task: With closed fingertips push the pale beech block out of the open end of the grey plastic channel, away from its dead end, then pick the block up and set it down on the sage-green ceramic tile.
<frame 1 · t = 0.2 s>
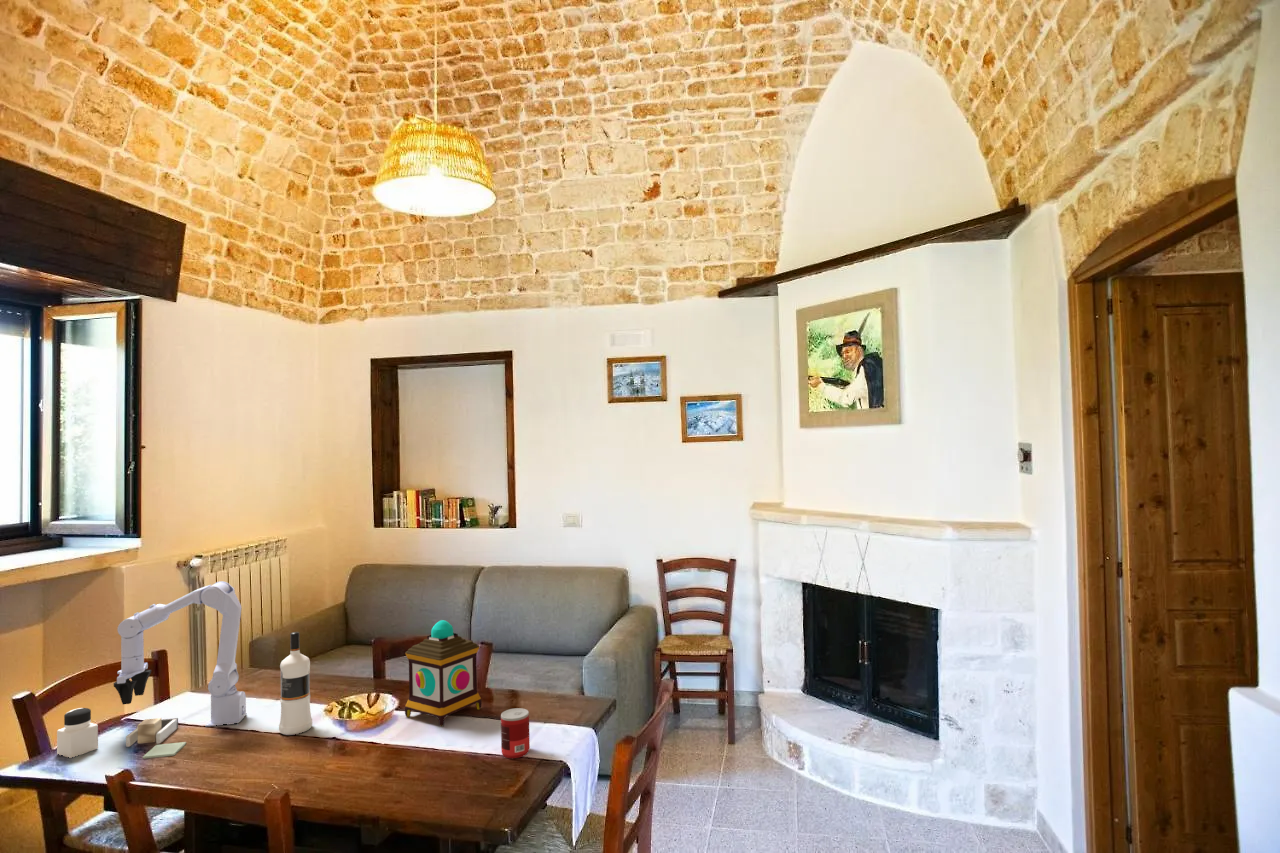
hand: (133, 699, 218), 10 cm above the table, tool pointing down, fingers open, 7 cm apart
channel: (152, 737, 212), on the table
decorative lantern: (443, 713, 227), on the table
tile: (165, 751, 202), on the table
vodka: (295, 730, 216), on the table
beech block: (149, 739, 211), on the table
canned food: (515, 753, 196), on the table
medicine bottle: (77, 752, 204), on the table
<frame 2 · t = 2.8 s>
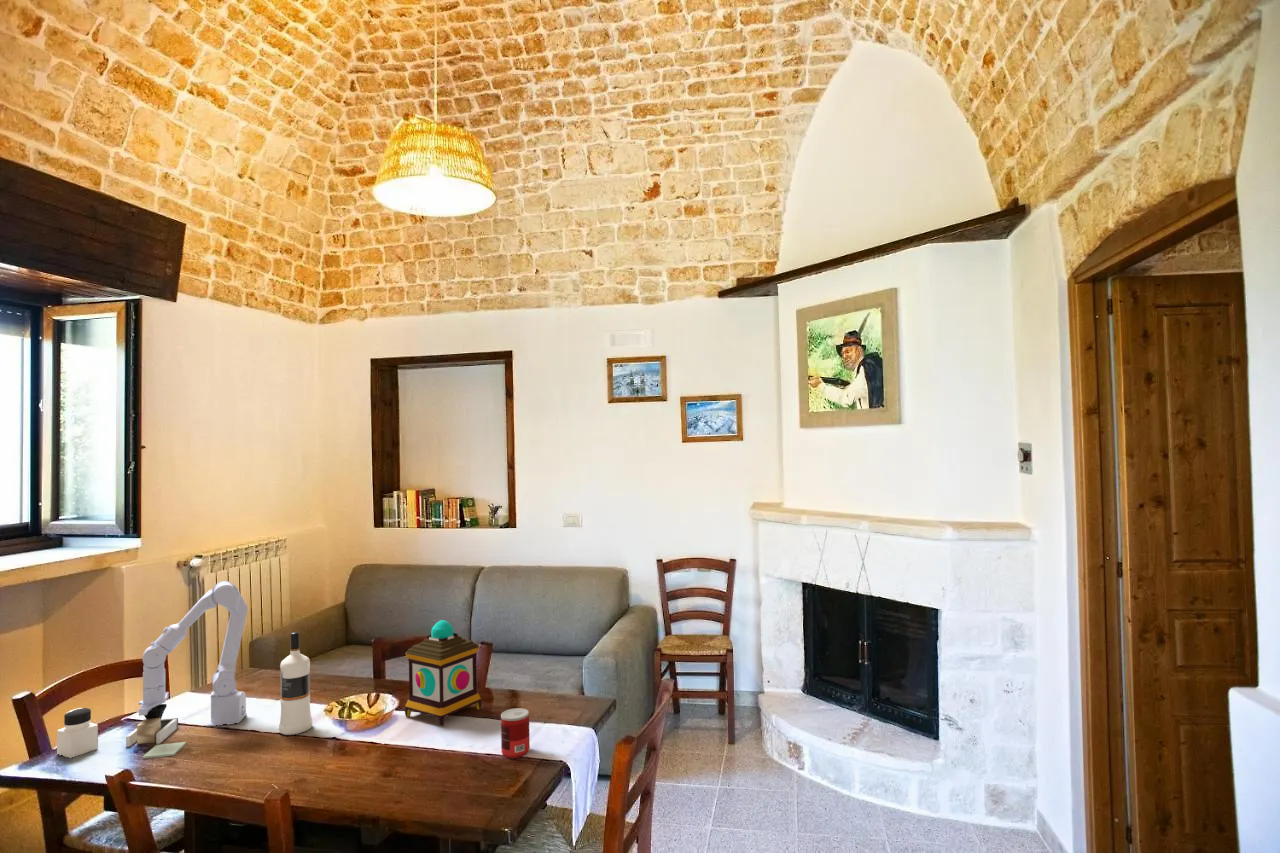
hand: (154, 730, 214), 1 cm above the table, tool pointing down, fingers closed, pressing on beech block
beech block: (149, 739, 211), on the table, touching gripper
everything else where it was.
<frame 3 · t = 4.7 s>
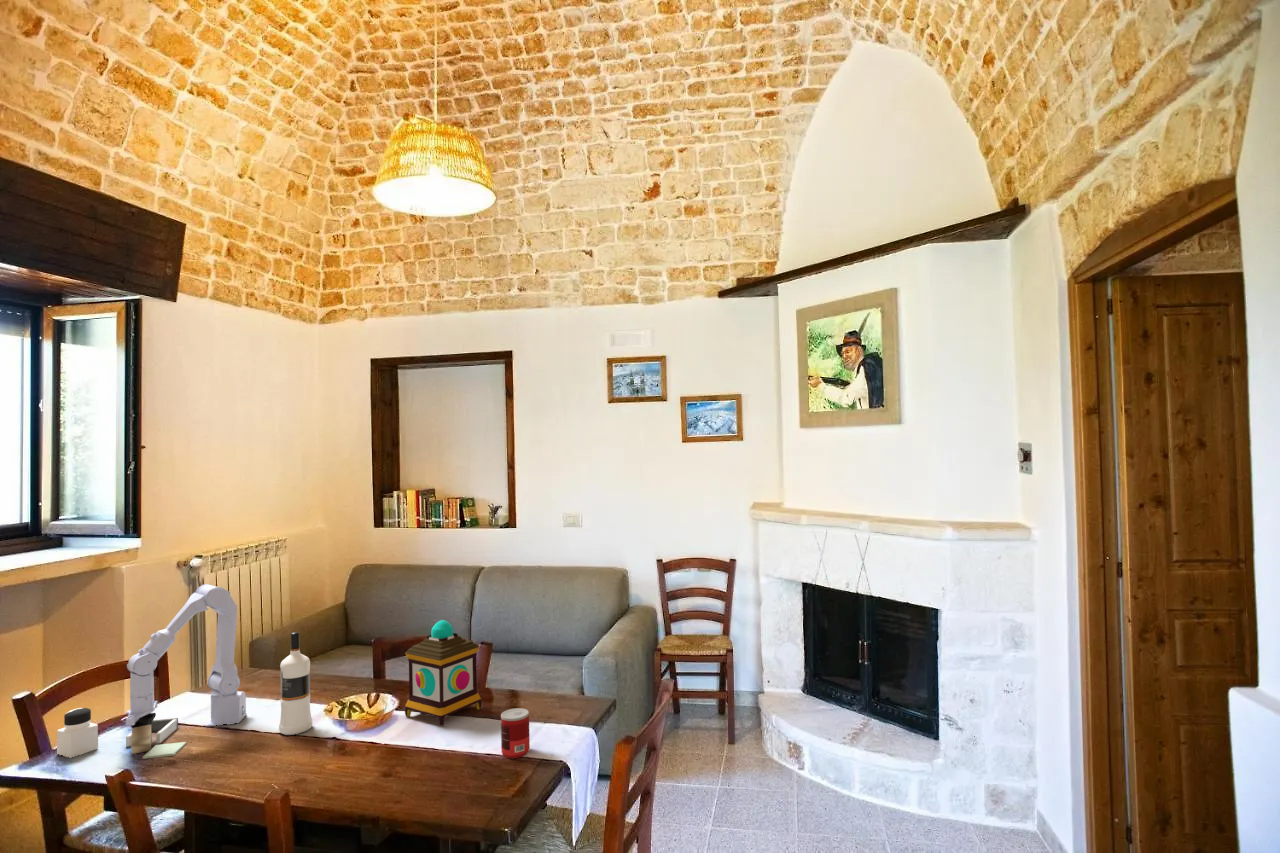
hand: (142, 741, 207), 1 cm above the table, tool pointing down, fingers closed
beech block: (141, 747, 204), point 1 cm above the table, tilted 19°, touching gripper
everything else where it was.
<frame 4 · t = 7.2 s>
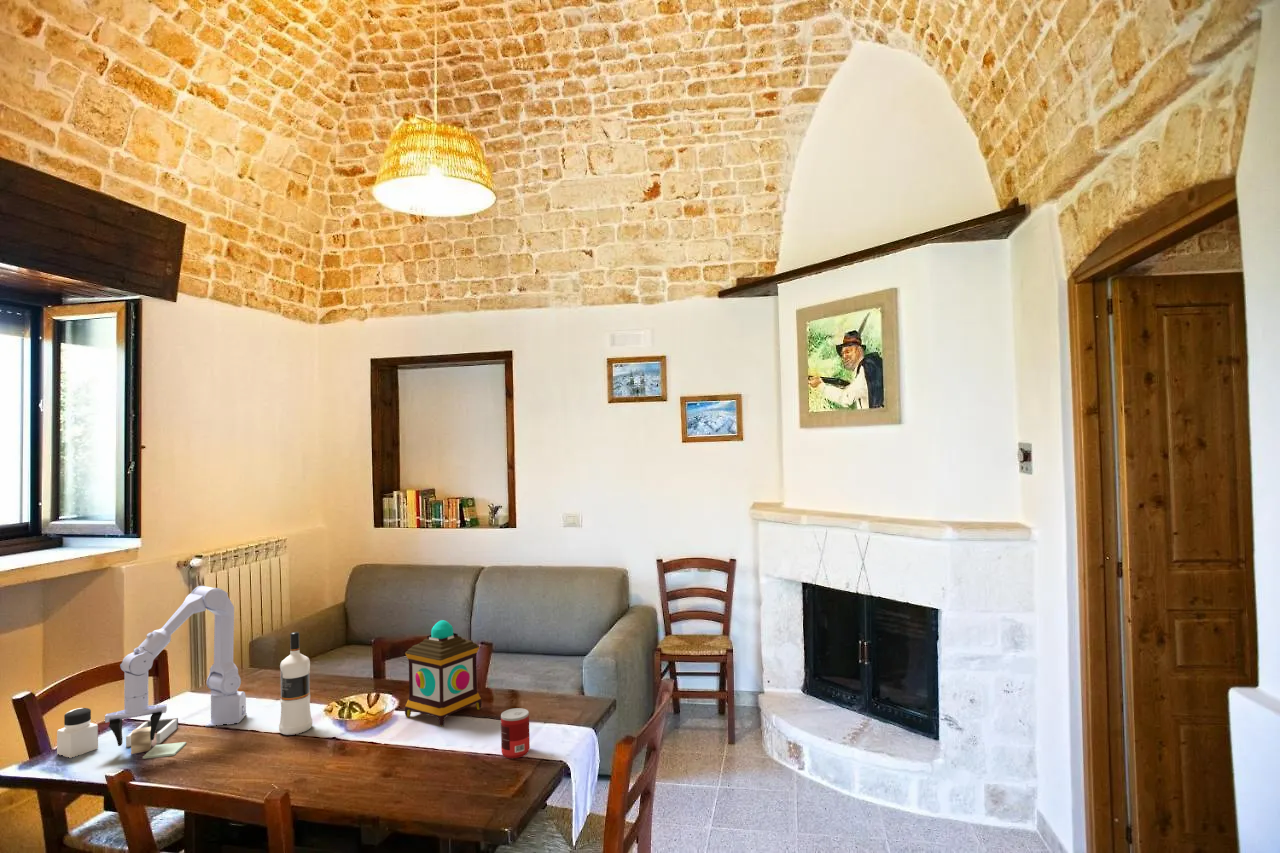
hand: (136, 741, 203), 3 cm above the table, tool pointing down, fingers open, 7 cm apart
beech block: (141, 749, 204), on the table
everything else where it was.
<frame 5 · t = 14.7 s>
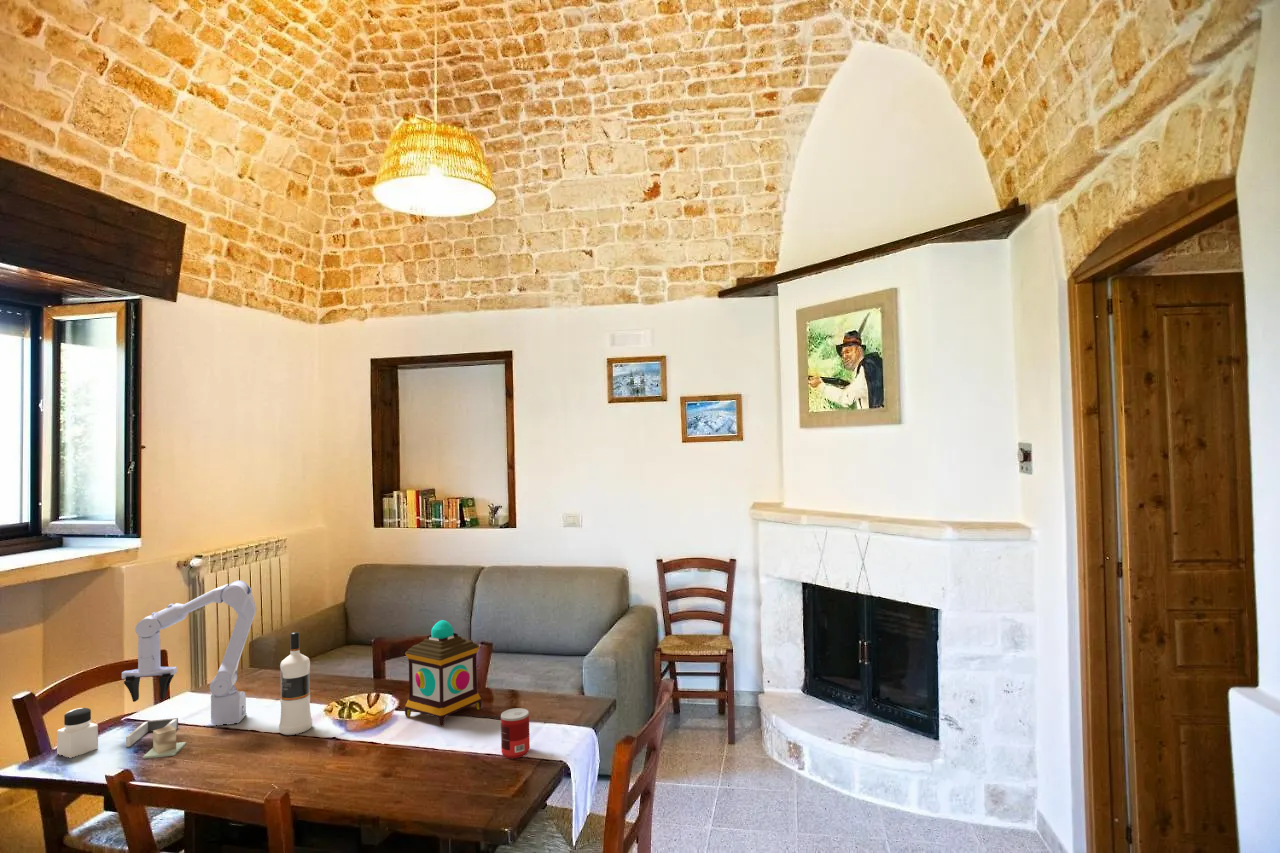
hand: (149, 699, 217), 10 cm above the table, tool pointing down, fingers open, 7 cm apart
beech block: (164, 748, 203), point 1 cm above the table, touching tile
everything else where it was.
at the end: beech block inside the target area on the tile (0.2 cm from its centre), point 0.6 cm above the tile's base; beech block tilted 0°; the gripper is holding nothing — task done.
